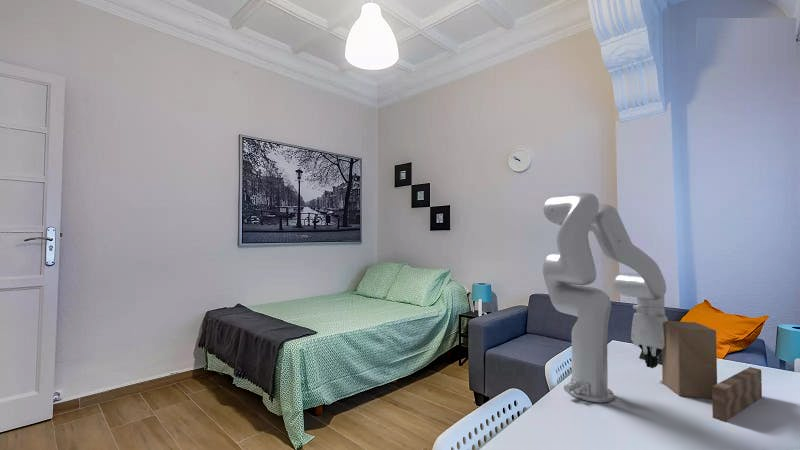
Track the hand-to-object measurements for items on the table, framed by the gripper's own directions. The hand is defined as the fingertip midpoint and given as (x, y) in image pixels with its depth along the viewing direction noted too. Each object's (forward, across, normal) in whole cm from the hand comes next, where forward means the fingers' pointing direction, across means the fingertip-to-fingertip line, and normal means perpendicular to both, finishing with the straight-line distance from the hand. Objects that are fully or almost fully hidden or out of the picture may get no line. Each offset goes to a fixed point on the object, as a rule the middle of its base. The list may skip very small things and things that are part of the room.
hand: (651, 366), depth 119 cm
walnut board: (+4, +22, 0) cm, 22 cm away
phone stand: (+4, -8, +22) cm, 24 cm away
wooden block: (+4, +10, 0) cm, 11 cm away
